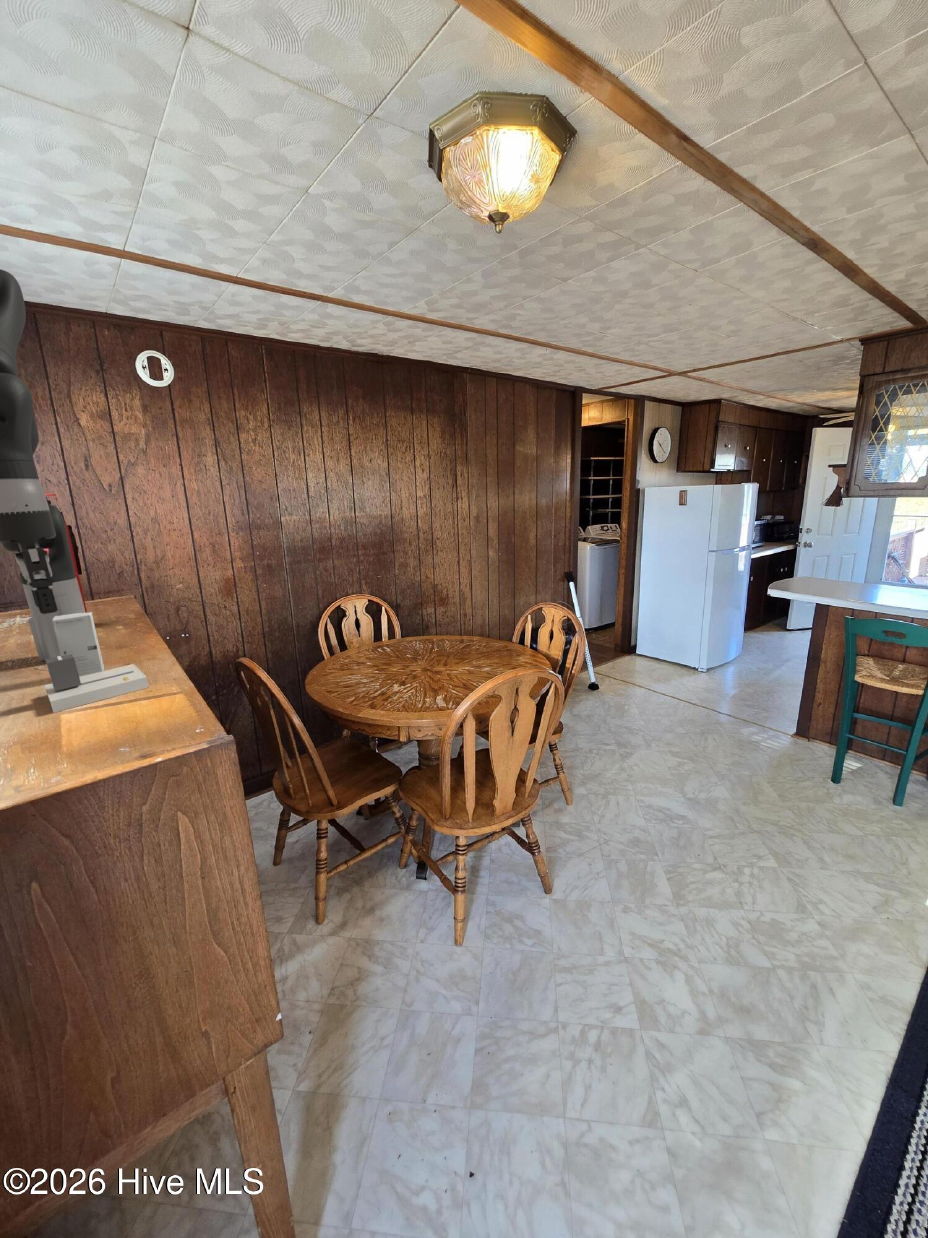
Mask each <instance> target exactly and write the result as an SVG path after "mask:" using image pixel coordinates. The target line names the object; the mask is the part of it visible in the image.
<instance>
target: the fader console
mask: <svg viewBox="0 0 928 1238" xmlns="http://www.w3.org/2000/svg"><path fill="white" fill-rule="evenodd" d="M79 678H80V682H81V685H78V686H74V687H70V688H66V689H62V690H58V691H55V690H54V687H53V684H52V683H49V684H44V687H45V692H46V694H47V699H48V701H49V704H50V707H51V709H52V713H53V714H54V713H58V712H62V711H65V710H70V709H74V708H77V707H78V708H79V707H80V706H85V705H88V704H91V703H96V702H100V701H102V700H106V699H107V700H108V699H111V698H115V697H119V696H121V695H124V694H128V693H133V692H137V691H140V690H144V689H148V688H150V685H149V682H148V681H149V680H148V676H146V675H145V674H144V673H143V671H141V669H140V668H138V666H137V665H136V664H134V663H132V664H128V665H125V666H120V667H116V668H111V669H107V670H103V671H102V672H98V673H94V674H89V675H85V676H81V677H79Z"/></svg>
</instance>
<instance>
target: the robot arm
mask: <svg viewBox="0 0 928 1238" xmlns="http://www.w3.org/2000/svg"><path fill="white" fill-rule="evenodd" d="M26 314H27V312H26V305H25V299H24V295H23V291H22V288H21V286H20V284H19V281H18V280H17V279H16V277H15V276H14V275H13V274H12V273H10V272H8V271H6V270H4V269H1V268H0V543H1V545H2V546H3V548H4V549H6V550H7V551H9V552H14V557H15V560H16V563H17V565H18V566H19V570H20V573H19V578H20V581H21V584H22V587H23V590H24V594H25V595H24V596H25V598H26V601H27V604H28V608H29V611H30V615H31V617H29V618H28V624H29V627H30V628H29V629H30V631H31V635H32V638H33V642H34V645H35V648H36V652H37V655H38V659H39V661H45V662H46V660H45V659H50V658H55V657H58V656H61V655H60V651H59V647H58V643H57V639H56V635H55V630H54V627H53V623H52V620H53V618H54V617H55V616H61V615H68V614H75V613H84V612H86V609H85V605H84V601H83V598H82V593H81V590H80V585H79V581H78V579H77V575H76V571H75V566H74V560H73V558H72V553H71V547H70V544H69V538H68V533H67V527H66V523H65V522H66V521H65V520H64V516H63V514H62V513H61V511H60V509H58V507H56V506H55V505H53V504H49V503H48V500H47V495H46V493H45V491H44V488H43V486H42V484H41V481H40V478H39V477H40V476H39V473H38V469H37V467H36V466H37V465H36V463H35V459H34V454H35V453H36V450H37V448H38V446H39V441H40V436H39V430H38V424H37V420H36V416H35V410H34V399H33V395H32V393H31V390H30V389H29V387H28V385H26V383H25V382H24V380H22V379H21V378H20V377H19V376H18V373H17V372H18V371H17V369H18V368H17V351H18V346H19V343H20V341H21V338H22V336H23V332H24V328H25V325H26V319H27V315H26Z"/></svg>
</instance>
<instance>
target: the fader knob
mask: <svg viewBox="0 0 928 1238" xmlns="http://www.w3.org/2000/svg"><path fill="white" fill-rule="evenodd" d="M45 660H46V661H45ZM45 660H44V661H45V663H46V666H47V670H48V675H49V676H50V680H51V684H53V687H54V690H55V691H58V690H62V689H66V688H70V687H74V686H78V685H81V682H80V678H79V674H78V671H77V667H76V663H75V660H74V657H73V655H72V654H69V655H64V656H58V657H55V658H50V659H45Z"/></svg>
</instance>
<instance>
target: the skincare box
mask: <svg viewBox="0 0 928 1238" xmlns="http://www.w3.org/2000/svg"><path fill="white" fill-rule="evenodd" d="M52 623H53V627H54V630H55V635H56V639H57V643H58V647H59V651H60V655H61V656H64V655H69V654H72V655H73V657H74V660H75V663H76V667H77V671H78V674H79V677H81V676H85V675H89V674H94V673H98V672H102V671H105V664H104V661H103V657H102V652H101V647H100V643H99V640H98V633H97V631H96V626H95V622H94V616H93V612H92V611H85V612H84V613H75V614H68V615H61V616H55V617H54V618H53V620H52Z"/></svg>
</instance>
